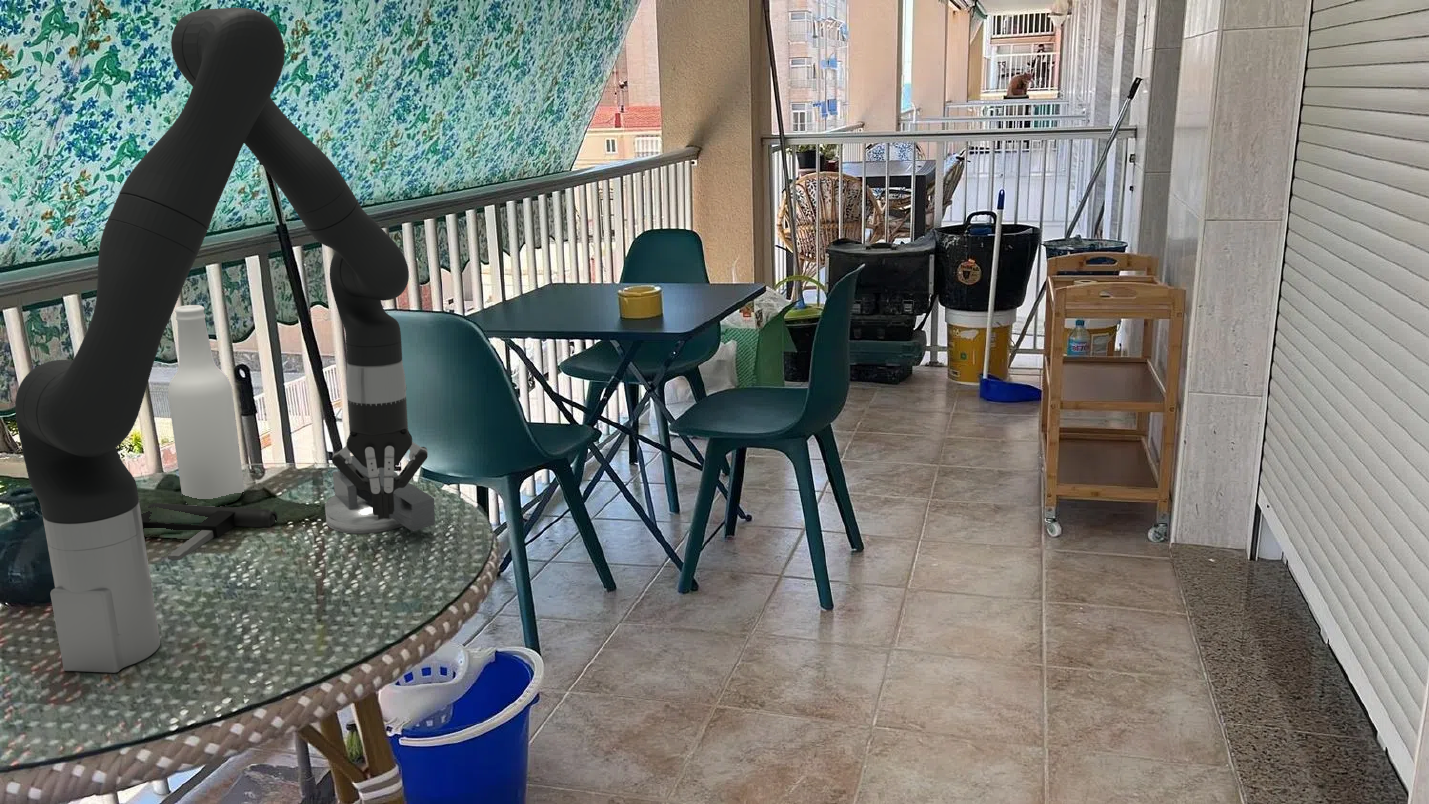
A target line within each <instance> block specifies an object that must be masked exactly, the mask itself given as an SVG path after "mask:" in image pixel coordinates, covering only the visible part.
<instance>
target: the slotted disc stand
mask: <svg viewBox="0 0 1429 804" xmlns="http://www.w3.org/2000/svg"><path fill="white" fill-rule="evenodd" d="M394 474H395V475H397V476H399V474H398V473H397V472H396V471H394ZM332 478H333V488H334V495H333V496H332V497H330V498H328V499H327V501H326V502H325V504H324V511H325V522H326V525H327V526H328V527H329V528H330V529H332V530H333V531H336V532H340V533H344V534H345V533H346V534H353V535H354V534H359V535H361V534H362V535H364V534H373V533H375V534H377V533H382V532H388V531H392V530H396V529H399V528H402V527H404V526H403V525H402V524H400V523H399V522H397V521H396V520H394V519H393V518H391V517H390V516H389V518H388V519H378V515H374V514H373V510H372V505H371V504H370V503H368V502H367V501H365V500H364V499H362V498H361V497H359V496H357V492H356V486H355V485H354V484H353V483H352V482H351V481H350V480H349V479H348V478H347V477H346V476H345V475H344V474H343V473H342V472H341V471H340V470H338V471H333V472H332Z"/></svg>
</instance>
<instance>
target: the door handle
mask: <svg viewBox="0 0 1429 804" xmlns="http://www.w3.org/2000/svg"><path fill="white" fill-rule="evenodd" d="M154 506H155V508H156V507H159V508H163V509H169V510H174V511H179V512H180V511H181V512H185V513H190V514H194V515H199V516H205V517H208V518H207V519H206V520H204V521H203V522H202V523H200V524H199V525H191V524H174V523H158V522H149V521H150V520H151V519H149V517H150V516H151V515H150V514H152V512H150V511H148V512H146V513H143V512H142V513H143V514H142V513H141V517H142V524H143V529H144V528H166V529H171V530H172V529H173V530H200V532H198V533H197V534H196V535H194V536H193V537H192V538H190V539H189V540H185V542H183V544H181V545H179V546H178V547H177V548H176V549H174V550H173V551H171V552H170V553H169V554H167V559H168V560H171V561H172V560H173V561H180V560H181V559H183V558H184V557H186V556H188V555H189V554H190V553H192V552H194V551H196V550H197V549H199V548H200V547H201V546H203V545H204V544H206V543H208V542H209V541H210V540H213V538H220V537H221V536H223V535H224V534H225V533H227V532H228V531H230V530H231V529H233V528H234V527H241V528H242V527H245V528H257V529H258V528H259V529H264V528H271V527H272V526H273V525H274V524H276V523H275V520H276V521H277V519H279V516H278V513H277V512H276V510H275V511H274V510H269V509H266V508H248V507H247V508H245V507H231V506H230V507H228V506H220V507H215V506H197V505H187V504H177V503H162V502H161V503H159V502H158V503H157V502H156V503H155V502H154V503H151V504H149V505H147V507H148V508H151V507H152V508H153V507H154Z"/></svg>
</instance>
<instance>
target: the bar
mask: <svg viewBox="0 0 1429 804" xmlns="http://www.w3.org/2000/svg"><path fill="white" fill-rule="evenodd" d="M351 457H352V462H351V463H352V464H353V465H354V466H355V467H356V468H357V469H358V470H359V471H360V472H361V473H362V474H363V475H364V476H365V477H366V478H367V479H369V475H368V468H366V467H364V466H363V465H362V464H361V463H360V462H359V461H358V460H357V459H356V458H355V456H354V455H351ZM379 475H380V482H381V489H382V490H383V489H384V468H379ZM395 477H397V475H395V474H394V478H395ZM356 492H357V496H359V497H361V498H362V499H364V500H365V501H367V502H368V503H370V504H371V505H372V495H371V493H370V492H369V491H366V490H359V489H358V488H357V487H356ZM393 494H394V512H393V514H389V516H390V517H391V518H393V519H394V520H396V521H397V522H399V523H400V524H402V525H403V526H402V527H405V528H406V529H408V530H409V531H411V532H416V531H418V530H422V529H424V528H428V527H432V526H435V524H436V522H435V520H436V519H435V516H436V515H435V513H436V512H435V497H433V496H432V495H430V494H428V493H426V492H424V491H423V490H422V489H420V488H418V487H417V486H415V485H413V484H412V483H410V482H408V484H407V485H406V486H405V487H404V488H398V489H396V490H395V491H394V492H393Z"/></svg>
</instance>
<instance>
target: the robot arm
mask: <svg viewBox="0 0 1429 804" xmlns="http://www.w3.org/2000/svg"><path fill="white" fill-rule="evenodd" d="M172 31H173V32H172V34H171V40H170V46H171V54H172V56H173V57H172V58H173V60H174V63H175V65H176V67H177V69H178V70H179V72H180V73H181V75H182V76H183V78H185V79H186V81H187V82H188V83H189V85H191V87H192V89H191V91H190V94H189V96H188V98H187V100H186V102H185V104H184V106H183V109H182V110H181V112H180V113H179V115H178V117H177V118H176V120H175V121H174V122H173V124H172V125H171V126H170V128H169V129H168V130H166V132H165V133H164V134H163V135H162V136H161V137H160V138H159V140H158V141H157V142H156V143H154V145H153V146H152V147H151V148H150V149H149V151H148V152H147V153H146V154H145V155H144V156H142V158H141V160H140V161H138V163H137V164H136V166H135V167H134V168H133V169H132V170H131V172H130V173H129V174H128V176H127V177H126V180H125V181H124V183H123V185H122V187H121V188H120V191H119V193H118V195H117V198H116V200H115V202H114V205H113V207H112V209H111V212H110V214H109V216H108V219H107V221H106V223H105V226H104V228H103V232H102V235H101V239H100V242H99V250H98V260H97V283H96V296H95V297H96V298H95V299H96V300H95V304H94V310H93V314H92V317H91V321H90V323H89V326H88V329H87V331H86V333H85V335H84V338H83V340H82V342H81V343H80V346H79V347H78V350H77V352H76V353H75V356H74V358H73V360H70V359H56V360H54V359H53V360H49V361H47V362H44V363H42V364H39V365H38V366H36V367H35V368H33V369H32V370H30V372H28V373H27V374H26V375H25V377H24V378H23V379H22V381H21V383H19V386H18V389H17V392H16V397H15V402H14V403H15V404H14V405H15V406H14V407H15V409H14V410H15V421H16V426H17V432H18V437H19V442H20V446H21V451H22V455H23V460H24V464H25V469H26V473H27V477H28V481H29V484H30V487H31V489H32V490H33V492H34V494H35V496H36V498H37V499H38V502H39V505H40V510H41V515H42V520H43V525H44V532H45V537H46V544H47V549H48V555H49V559H50V560H49V561H50V566H51V571H52V577H53V583H54V587H53V589H51V591H50V599H51V600H50V601H51V605H52V610H53V617H54V621H55V629H56V633H57V634H56V635H57V640H58V646H59V650H60V655H61V657H60V658H61V661H62V667H63V671H67V672H93V673H114V674H115V673H118V672H120V670H122V669H123V668H126V667H129V666H132V665H134V664H137V663H139V662H141V661H143V660H146V659H148V658H149V657H150V656H152V655H153V654H155V652H157V650H158V649H159V647H161V646H160V645H161V639H160V638H161V637H160V631H159V625H158V619H157V611H156V606H155V597H154V591H153V585H152V579H151V573H150V566H149V560H148V559H149V558H148V552H147V546H146V541H145V539H146V538H145V537H144V531H143V524H142V517H141V514H142V510H141V506H140V505H141V504H140V499H139V492H138V491H139V490H138V486H137V482H136V479H135V478H134V476H133V474H132V473H131V472H130V470H129V469H128V468H127V467H126V464H124V462H123V460H122V458H121V457H120V454H119V451H118V448H117V447H118V446H120V445H121V444H122V443H123V442H124V441H125V439H127V438H128V436H129V435H130V433H131V431H132V430H133V428H134V426H135V424H136V421H137V419H138V416H139V414H140V410H141V407H142V404H143V400H144V397H145V394H146V390H147V388H148V383H149V380H150V376H151V373H152V370H153V366H154V363H155V359H156V356H157V353H158V349H159V347H160V344H161V340H162V338H163V336H164V333H165V331H166V328H167V326H168V324H169V321H170V320H171V317H172V315H173V312H174V311H175V309H176V305H177V303H178V300H179V297H180V296H181V293H182V290H183V288H184V285H185V283H186V281H187V279H188V276H189V273H190V272H191V269H192V267H193V265H194V263H195V261H196V259H197V257H198V254H199V252H200V250H201V247H202V244H203V243H204V240H205V238H206V235H207V232H208V230H209V228H210V225H211V222H212V220H213V217H214V215H215V211H216V208H217V206H218V204H219V202H220V199H221V196H222V195H223V193H224V191H225V188H226V186H227V184H228V181H229V179H230V177H231V174H232V172H233V169H234V167H235V164H236V162H237V159H238V157H239V154H240V152H241V150H242V148H243V147H244V145H245V146H246V147H247V148H248V149H249V151H250V152H251V153H252V155H254V157H255V158H256V159H257V160H258V162H259V163H260V164H261V166H262V167H263V168H264V170H266V172H267V173H268V174H269V175H270V177H271V179H272V180H273V181H274V182H275V184H276V185H277V186H278V188H279V189H280V190H281V192H282V194H283V195H284V197H285V198H286V199H287V201H288V202H289V204H290V206H291V207H292V208H293V210H294V211H295V213H296V214H297V216H298V217H299V219H300V221H301V222H302V223H303V225H304V226H305V227H306V229H307V231H308V232H309V233H310V234H311V236H312V237H313V238H314V239H315V240H316V241H317V243H320V244H322V245H323V246H325V247H328V248H330V249H331V250H334V251H335V252H334V254H333V255H332V258H331V261H330V265H329V282H330V287H331V291H332V294H333V299H334V301H335V305H336V308H337V309H336V310H337V311H338V312H337V313H338V316H339V318H340V321H341V323H342V326H343V328H344V333H345V349H346V376H345V378H346V382H345V383H346V397H347V412H348V413H347V415H348V425H349V426H348V427H349V429H348V430H349V435H348V437H347V439H346V444H345V446H344V447H342V448H341V449H340V450H339V451H338V450H336V451H334V452H333V454H332V459H331V462H332V463H331V464H332V465H334V466H335V467H336V468H337V469H338V471H341V472H342V473H343V474H344V475H345V476H346V477H347V478H348V479H349V480H350V481H351V482H352V483H353V484H354V485H355V486H356V487H357V488H358V489H359V490H366V491H369V492H370V493H371V495H372V510H373V514H374V515H378V519H388V518H389V514H393V512H394V494H393V492H394V491H395V490H396V489H398V488H404V487H405V486H406V485H407V484H408V483H410V481H411V480H412V478H414V475H416V473H417V472H418V471H419V469H420V468H421V467H422V466H423V464H424V463H425V462H426V460H427V459H428V455H429V454H428V449H427V447H425V446H420V445H418V444H417V443H416V442H414V441H413V436H412V434H411V433H410V431H409V425H408V424H409V422H408V404H407V383H406V373H405V369H404V365H403V351H402V349H403V348H402V346H403V345H402V334H401V333H402V332H401V327H400V323H399V322H398V321H397V319H396V318H395V317H393V316H392V315H390V314H388V313H387V311H385V309H384V307H383V303H382V301H391V300H393V299H396V298H398V297H399V296H401V295H402V294H403V293H404V291H405V290H406V288H407V286H408V284H409V279H410V271H409V267H408V262H407V259H406V257H405V255H404V253H403V251H402V250H401V249H400V247H399V246H398V245H397V243H396V242H395V241H394V240H393V239H392V238H391V237H390V235H388V234H387V232H386V231H384V229H383V228H382V227H381V226H380V225H379V223H377V222H376V221H375V220H374V219H373V218H372V217H371V216H370V215H368V214H367V212H366V211H365V210H364V209H363V208H362V205H361V204H360V202H359V200H358V199H357V197H356V195H355V194H354V192H353V191H352V189H351V188H350V186H349V185H348V183H347V182H346V180H345V178H344V177H343V176H342V174H341V173H340V171H339V170H338V168H337V166H336V165H335V163H333V161H331V160H330V158H329V157H328V156H327V155H326V154H325V153H324V152H323V151H322V150H321V148H319V147H318V146H317V144H315V143H314V142H313V141H312V140H310V138H308V137H307V136H306V135H305V134H304V133H303V132H302V131H301V130H300V129H299V128H298V127H297V126H296V125H295V124H294V123H293V121H291V120H290V119H289V118H288V117H287V116H286V114H285V113H283V111H282V110H281V109H280V108H279V106H278V105H277V103H276V102H275V100H273V99H272V97H271V95H272V93H273V91H274V89H275V88H276V86H277V84H278V82H279V80H280V77H281V74H282V71H283V67H284V64H285V57H286V56H285V55H286V53H285V50H286V49H285V43H284V40H283V36H282V34H281V32H280V29H279V27H278V26H277V25H276V23H275V21H274V20H273V19H272V18H270V17H269V16H268V15H266V14H265V13H263V12H261V11H260V10H256V9H251V8H246V7H226V8H225V7H222V8H208V9H207V8H205V9H199V10H195V11H192V12H189V13H187V14H186V15H184V16H182V17H181V18H180V19H179V20H178V22H177V23H176V25H175V26H174V29H173V30H172ZM408 451H409V454H408V457H409V461H408V462H407V464H406V465H405V467H403V469H402V470H401V472H400V473H399V474H398V475H399V476H397V477H395V478H394V472H395V470H394V469H395V467H396V466H398V465H399V464H400V463H401V461H402V460H403V458H404V457H405V455H406V454H407V453H408ZM351 456H355V458H356V459H357V460H358V461H359V462H360V463H361V464H362V465H363V466H364V467H366V468H368V475H369V479H367V478H366V477H365V476H364V475H363V474H362V473H361V472H360V471H359V470H358V469H357V468H356V467H355V466H354V465H353V464H352V463H351V462H352V457H351ZM379 468H384V489H383V490H382V489H381V482H380V475H379Z"/></svg>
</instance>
